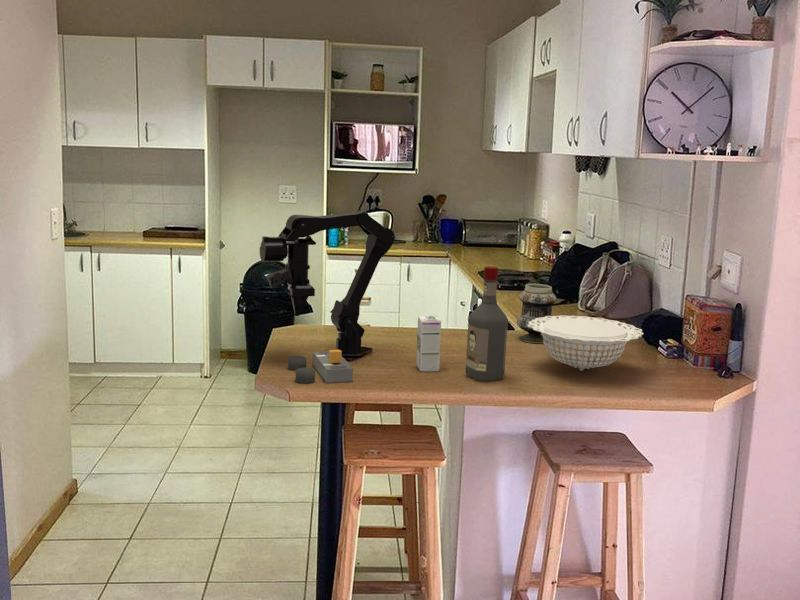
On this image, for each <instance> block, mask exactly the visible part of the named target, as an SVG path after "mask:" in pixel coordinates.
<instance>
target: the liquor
mask: <svg viewBox="0 0 800 600" xmlns="http://www.w3.org/2000/svg"><path fill="white" fill-rule="evenodd" d="M483 268H484V269H483V279H484V280H483V293H482V299H481V303H480V304H479V305H478V306H476V308H475V309H474V310H473V311H472V312H471V313H470V314H469V316H468V319H467V320H468V322H467V323H468V324H467V338H466V339H467V340H466V354H465V355H466V356H465V357H466V358H465V370H464V371H465V374H466V377H468V378H470V377H471V379H472V380H475V381H477V382H485V383H487V381H488V382H494V381H495V380H497V381H501V380H502V379H503V377H504V376H505V370H506V368H505V367H506V356H507V354H506V353H507V343H508V342H507V339H508V324H509V320H508V315H506V313H505V312H504V311H503V310H502V308H501V307H500V306H499V305H498V301H497V290H498V289H497V285H498V279H499V278H498V277H499V267H497V266H484V267H483ZM495 382H496V381H495Z"/></svg>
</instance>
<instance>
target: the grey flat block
mask: <svg viewBox="0 0 800 600" xmlns="http://www.w3.org/2000/svg"><path fill="white" fill-rule="evenodd" d="M312 365H313V367H314V368H315V370H317V372H318V374H319V375H320V376H321V378H322V379H323V380H324V382H325V383H327V384H331V383H350V382H353V381H354V380H353V379H354V367H352V365H351V364H350V363H349V362H348V361H347V360H346V359H345V357H342V361H341V363H330V362H329V350H328V351H327V350H326V351H313V352H312Z"/></svg>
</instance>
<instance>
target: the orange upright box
mask: <svg viewBox="0 0 800 600" xmlns="http://www.w3.org/2000/svg"><path fill="white" fill-rule="evenodd" d="M328 351H329V362H330V363H341V361H342V351H341V350H336V349H329V350H328Z"/></svg>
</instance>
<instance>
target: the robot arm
mask: <svg viewBox="0 0 800 600" xmlns="http://www.w3.org/2000/svg"><path fill="white" fill-rule="evenodd" d="M351 227H359V229H360V230H361V231H362V232H363V233H364V234H365V235H366V241H365V253H364V255H363V257H362V260H361V261H360V263H359V266H358V269H357V270H356V273H355V275H354V277H353V278H352V279H353V280H352V282H351V283H350V285H349V288H348V290H347V293H346V295H345V297H344V298H342V300H341V301H339V300H338V299H336V300H335V302H334V304H333V308H332V309H331V310H330V314H331V315H330V320H331V323H332V325H333V326H335V328H336V330H337V332H338V333H337V334H338V335H337V337H336V339H335V342H336V343H335V350H341V351H342V354H357V353H361V355H360V356H361V357H363V354H362V337H363V336H364V334H365V331H366V330H365V328H363V326H362V325H361V324H360V323H359V322H358V320H359V317H360V310H361V308H360V307H361V302H362V300H363V298H364V295H365V294H366V291H367V289H368V287H369V284H370V283H371V281H372V278H373V275H374V273H375V271H376V269H377V267H378V264H379V262H380V260H381V259H382V258H383V257H384V256H385V255H386V254H387V253H388V252H389V251H390V249H391V248H392V246H393V245H394V244H395V241H396V235H395V232H394V231H393V229H391V228H388V227H387V226H386V227H385V226H384V225H382V224H381V223H380V222H378V221H377V220H375V219H374V218H373V217H371V215H370V214H369V213H368V212H365V211H362V210H356V211H352V212H344V213H335V214H327V215H317V216H316V215H308V214H307V215H306V214H305V215H304V214H293V215H290V216H289V217H288V219H286V222H285V226H284V228H283V229H282V231H281V232H280V233H279V235H278V236H265V235H264V236H262V238H261V240H262V241H261V243H260V246H259V256H260V257H259V258H260V261H261V262H262V263H263V262H264V263H265V262H284V260H285V259H287V262H286V264H284V269H280V270H276V271H274V272H271V273H269V274H266V279H267V281H268V284H269V287H271V289H274V288H277V287H278V286H282V287H286V285H287V289H284V290H285V292H287V294H288V295H289V296H290V298H291V303H292V307H293V311H294V316H295V317H300V315H301V314H302V311H303V309H304V307H305V304H306V302H307V301H308V298H309V297H315V296H316V289H315V287H314V286H313V285H311V284H310V279H309V270H310V269H311V268H310V267H311V266H310V264H309V246H314V245H315V246H316V245H317V242H316V241H315V240H314V239H313V238H312V236H313V235H315V234H317V233H319V232H322V231H327V230H336V229H344V228H351Z"/></svg>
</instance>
